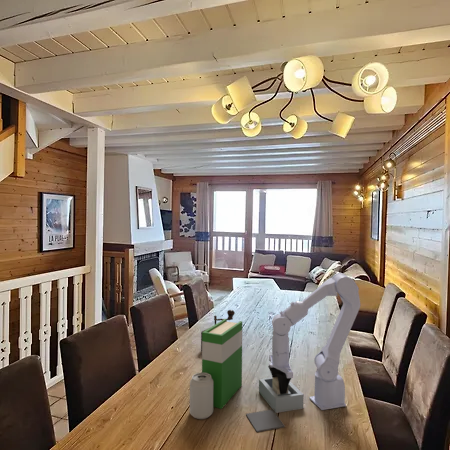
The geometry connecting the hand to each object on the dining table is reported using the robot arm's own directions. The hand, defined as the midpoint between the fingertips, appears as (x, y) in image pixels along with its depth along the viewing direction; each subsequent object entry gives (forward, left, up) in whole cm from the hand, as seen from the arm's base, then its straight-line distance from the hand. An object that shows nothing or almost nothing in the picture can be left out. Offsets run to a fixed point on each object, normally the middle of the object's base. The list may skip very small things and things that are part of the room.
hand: (280, 389), depth 114 cm
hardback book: (+18, -9, -4) cm, 20 cm away
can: (+28, +1, -4) cm, 28 cm away
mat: (+10, +10, -3) cm, 15 cm away
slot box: (0, 0, -3) cm, 3 cm away
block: (0, 0, 0) cm, 0 cm away
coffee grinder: (+8, -51, -4) cm, 52 cm away
